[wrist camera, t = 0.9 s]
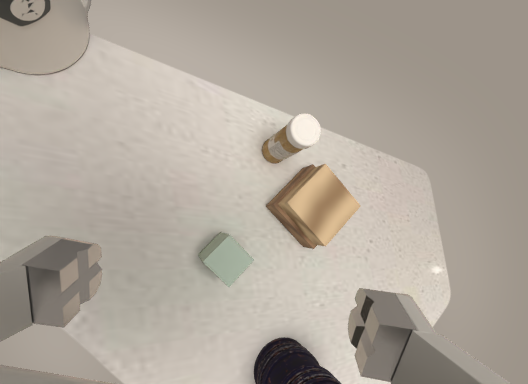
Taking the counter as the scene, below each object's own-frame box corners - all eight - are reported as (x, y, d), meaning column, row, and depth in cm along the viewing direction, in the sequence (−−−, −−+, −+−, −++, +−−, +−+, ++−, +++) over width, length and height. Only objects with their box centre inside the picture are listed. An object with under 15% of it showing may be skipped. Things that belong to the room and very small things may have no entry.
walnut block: (264, 206, 50) (273, 205, 46) (301, 168, 53) (313, 164, 49) (302, 246, 52) (313, 248, 47) (336, 207, 55) (349, 206, 50)
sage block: (197, 254, 46) (202, 262, 38) (220, 232, 47) (229, 234, 40) (219, 276, 46) (228, 287, 39) (241, 253, 48) (254, 259, 40)
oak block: (277, 204, 46) (287, 202, 42) (313, 168, 49) (325, 163, 45) (313, 244, 47) (325, 246, 44) (346, 206, 50) (360, 206, 46)
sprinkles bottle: (273, 133, 52) (307, 105, 39) (290, 153, 52) (328, 132, 39) (256, 149, 50) (284, 126, 37) (272, 169, 51) (306, 152, 38)
